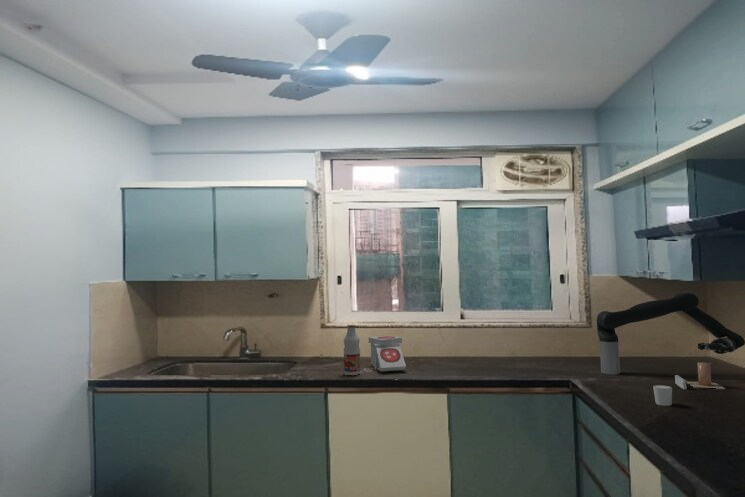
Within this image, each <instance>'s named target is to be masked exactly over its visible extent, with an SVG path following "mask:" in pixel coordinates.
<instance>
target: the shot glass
mask: <svg viewBox="0 0 745 497" xmlns="http://www.w3.org/2000/svg"><path fill="white" fill-rule="evenodd" d="M652 388H653V394H654V400H655V404H656V405H659V406H664V407H665V406H666V407H669V406H672V404H673V403H672V402H673V387H672V386H668V385H663V384H662V385H660V384H659V385H658V384H657V385H653V387H652Z"/></svg>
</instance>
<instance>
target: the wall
mask: <svg viewBox="0 0 745 497" xmlns="http://www.w3.org/2000/svg"><path fill="white" fill-rule="evenodd" d="M674 380H675V381H674V382H675V385H677V386H678V387H679V388H681V389H683V390H687V389H688V388H687V380H686V379H684V378H682V377H681V376H680V375H678V374H674Z"/></svg>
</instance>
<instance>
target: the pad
mask: <svg viewBox="0 0 745 497" xmlns="http://www.w3.org/2000/svg"><path fill="white" fill-rule="evenodd" d="M686 384H688V385H689V384H690V385H689V386H691V387H692V386H693V388H694V389H699V388H716V389H715V390H726V387H724V386H722V385H720V384H718V383H716V382H715V383H714V382H712V381H711V384H712V385H711V386H704V385H699V381H686Z"/></svg>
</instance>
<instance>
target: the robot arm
mask: <svg viewBox="0 0 745 497" xmlns="http://www.w3.org/2000/svg"><path fill="white" fill-rule="evenodd" d="M699 300H700V299H699V297H698V296H697V295H696V294H693V293H692V292H691V293H690V292H681V293H680V292H679V293H676V294H675V295H673V297H671V298H667V299H658V300H650V301H645V302H641V303H637V304H636V305H633V306H631V307H630V308H627V309H624V310H620V311H619V310H618V311H607V310H604V311H601V312H599V313H598V314H597V317H596V327H597V336H598V340H599V355H600V356H599V357H600V372H601V374H604V375H611V376H612V375H613V376H614V375H615V376H616V375H620V374H621V368H620V367H621V366H620V349H619V347H620V346H619V336H618V334H617V333H616V330H615V329H617V328H620V327H622V326H625V325H629V324H632V323H638V322H643V321H648V320H652V319H656V318H660V317H662V316H663V317H664V316H666V315H669V314H673V313H676V312H677V313H678V312H683V313H684V314H686V315H687V316H689V317H690V318H692V319H693V320H694V321H696V322H697V323H698V324H700V326H702V327H703V328H704V329H706V330H707V331H708V332H709V333H710V334H712V336H713V337H715V338H716V339H713V340H712V341H711V342H709V343H707V342H706V343H705V342H699V343H697V349H699V350H700V351H703V350H706V351H711V352H712V351H713V353H715V354H718V355H723V354H726V353H734V352H735V351H736V350H738V349H739V348H742V347H743V346H745V339H744V337H743V336H741V335H740V334H738V333H737V332H734V331H733V330H730V329H729V328H727V327H726V326H724V325H723V324H722V323H721V321H719V320H717V319H716V318H715V317H714V316H711V315H710V314H708V313H706V312H704V311H703V310H701V309H700V308H699V307H698V305H699V302H700V301H699Z"/></svg>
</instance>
